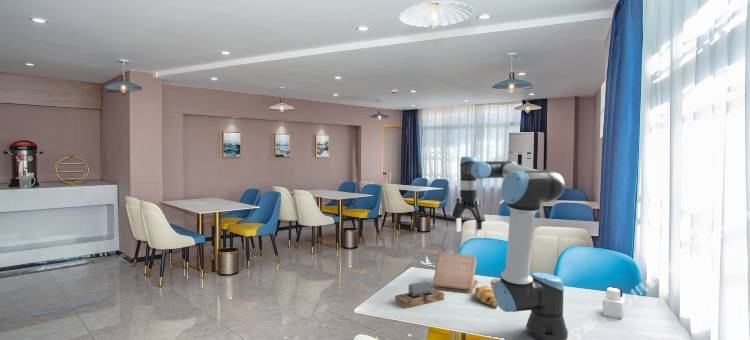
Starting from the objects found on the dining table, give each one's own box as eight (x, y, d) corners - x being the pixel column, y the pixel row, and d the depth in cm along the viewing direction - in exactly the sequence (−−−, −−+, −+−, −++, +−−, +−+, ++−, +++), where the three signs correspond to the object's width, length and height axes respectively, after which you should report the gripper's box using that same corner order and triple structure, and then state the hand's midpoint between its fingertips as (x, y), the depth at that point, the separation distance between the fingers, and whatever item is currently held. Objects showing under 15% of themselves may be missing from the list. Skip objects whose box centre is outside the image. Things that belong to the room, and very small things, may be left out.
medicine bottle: (606, 310, 194) (607, 283, 194) (624, 314, 190) (625, 287, 189) (602, 315, 189) (603, 288, 188) (621, 319, 184) (622, 291, 184)
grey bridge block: (425, 297, 212) (425, 281, 212) (430, 299, 209) (430, 283, 208) (408, 301, 207) (408, 284, 206) (412, 303, 204) (412, 286, 203)
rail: (432, 294, 217) (432, 287, 217) (444, 299, 209) (444, 293, 209) (395, 302, 206) (395, 295, 206) (405, 308, 198) (405, 301, 198)
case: (431, 289, 225) (432, 259, 224) (441, 278, 244) (442, 249, 243) (471, 295, 217) (472, 263, 216) (478, 282, 236) (479, 253, 235)
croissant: (502, 315, 198) (511, 299, 198) (485, 306, 195) (493, 290, 196) (481, 298, 218) (488, 284, 219) (465, 290, 216) (472, 276, 216)
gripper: (493, 191, 198) (493, 237, 199) (456, 186, 219) (456, 228, 221) (481, 192, 194) (480, 239, 195) (445, 187, 216) (445, 230, 217)
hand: (468, 233), depth 208 cm, fingers open, 13 cm apart
